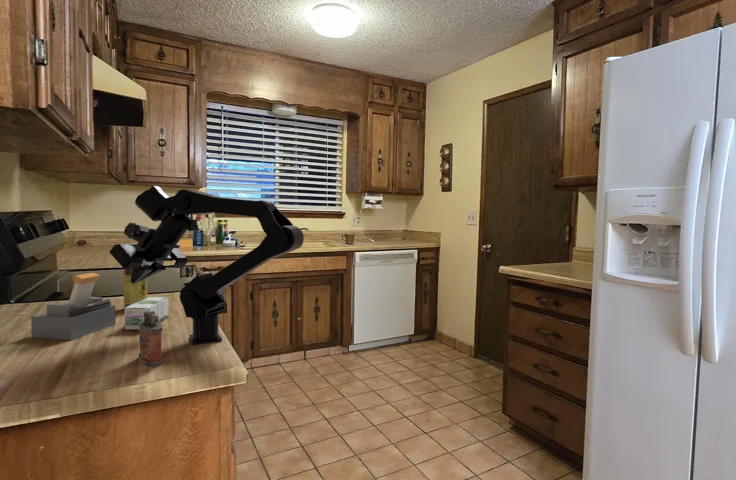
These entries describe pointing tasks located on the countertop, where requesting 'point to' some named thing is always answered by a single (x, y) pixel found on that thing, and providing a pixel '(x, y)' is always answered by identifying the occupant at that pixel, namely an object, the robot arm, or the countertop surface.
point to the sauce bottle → (133, 286)
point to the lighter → (150, 340)
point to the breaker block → (73, 319)
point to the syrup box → (137, 310)
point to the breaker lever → (83, 288)
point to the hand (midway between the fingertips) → (132, 282)
